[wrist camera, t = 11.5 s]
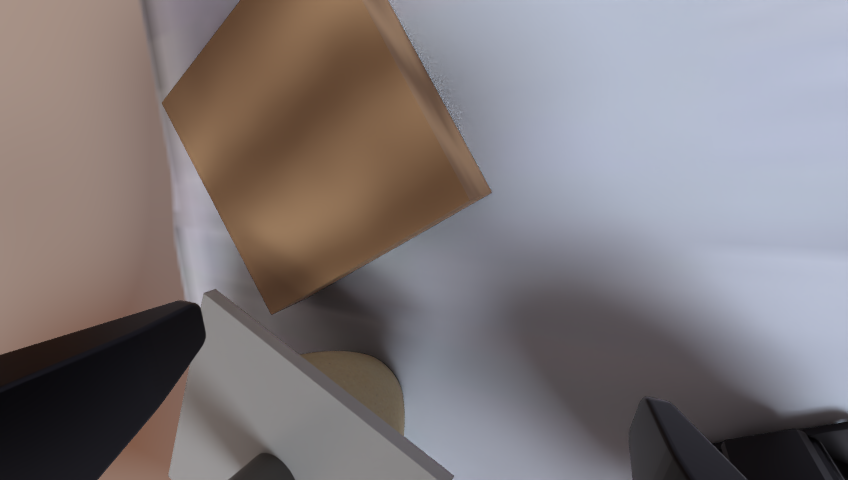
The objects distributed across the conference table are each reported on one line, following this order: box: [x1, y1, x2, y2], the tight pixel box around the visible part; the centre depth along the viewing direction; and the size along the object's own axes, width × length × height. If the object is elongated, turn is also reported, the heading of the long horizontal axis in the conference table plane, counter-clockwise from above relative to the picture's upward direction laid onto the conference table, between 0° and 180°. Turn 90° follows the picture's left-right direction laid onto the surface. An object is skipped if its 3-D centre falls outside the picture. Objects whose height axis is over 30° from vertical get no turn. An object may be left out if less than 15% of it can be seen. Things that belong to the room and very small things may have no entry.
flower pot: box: [300, 351, 405, 436], centre depth 22 cm, size 10×10×7 cm
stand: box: [162, 0, 492, 315], centre depth 22 cm, size 14×14×3 cm
